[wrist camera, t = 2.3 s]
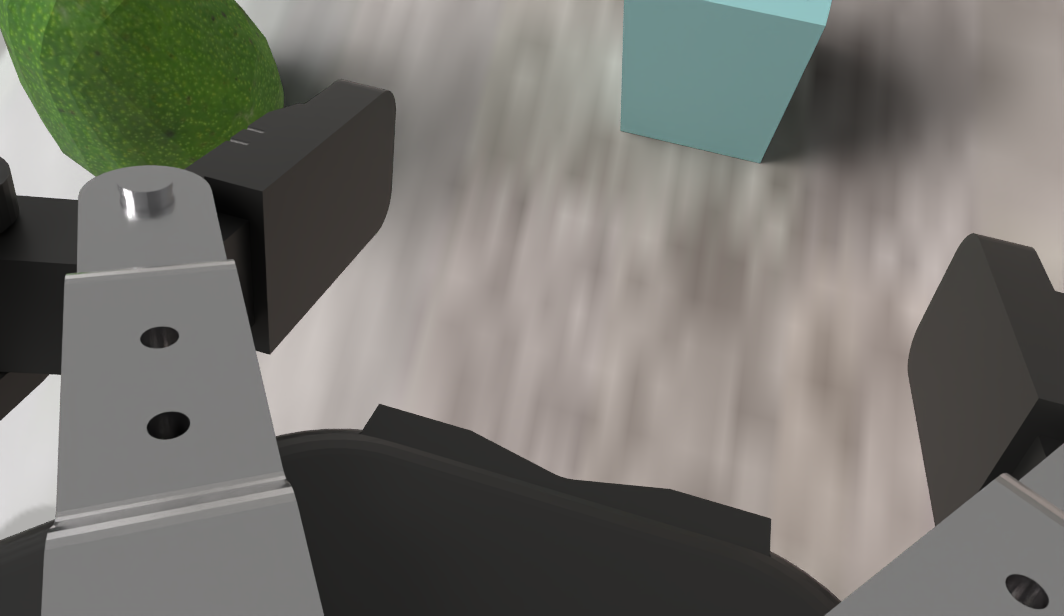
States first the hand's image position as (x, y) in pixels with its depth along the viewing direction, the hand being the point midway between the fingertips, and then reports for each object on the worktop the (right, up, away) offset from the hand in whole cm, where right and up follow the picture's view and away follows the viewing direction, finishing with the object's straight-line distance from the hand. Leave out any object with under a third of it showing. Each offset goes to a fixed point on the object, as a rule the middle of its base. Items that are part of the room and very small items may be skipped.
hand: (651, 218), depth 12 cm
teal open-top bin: (+5, +7, +21) cm, 23 cm away
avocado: (-14, +5, +22) cm, 27 cm away
